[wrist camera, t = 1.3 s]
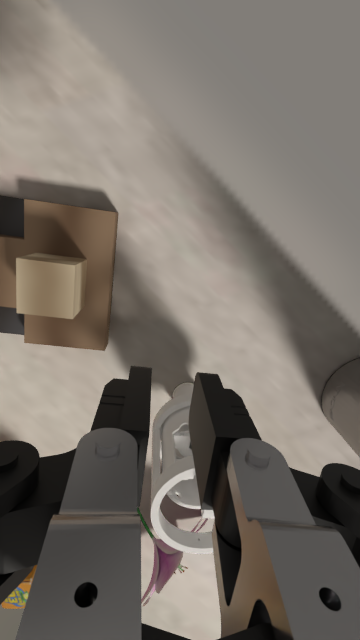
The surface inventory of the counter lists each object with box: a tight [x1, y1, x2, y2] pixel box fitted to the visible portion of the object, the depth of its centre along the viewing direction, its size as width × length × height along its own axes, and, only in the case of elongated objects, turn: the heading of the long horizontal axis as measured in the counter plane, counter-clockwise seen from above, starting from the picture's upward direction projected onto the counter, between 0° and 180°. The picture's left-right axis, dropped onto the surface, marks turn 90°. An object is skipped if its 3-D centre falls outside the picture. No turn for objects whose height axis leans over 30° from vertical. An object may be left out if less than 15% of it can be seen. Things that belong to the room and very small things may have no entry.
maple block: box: [16, 253, 87, 319], centre depth 24 cm, size 4×4×4 cm
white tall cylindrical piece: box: [151, 383, 215, 554], centre depth 26 cm, size 7×7×15 cm
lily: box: [137, 508, 208, 606], centre depth 34 cm, size 12×12×10 cm
